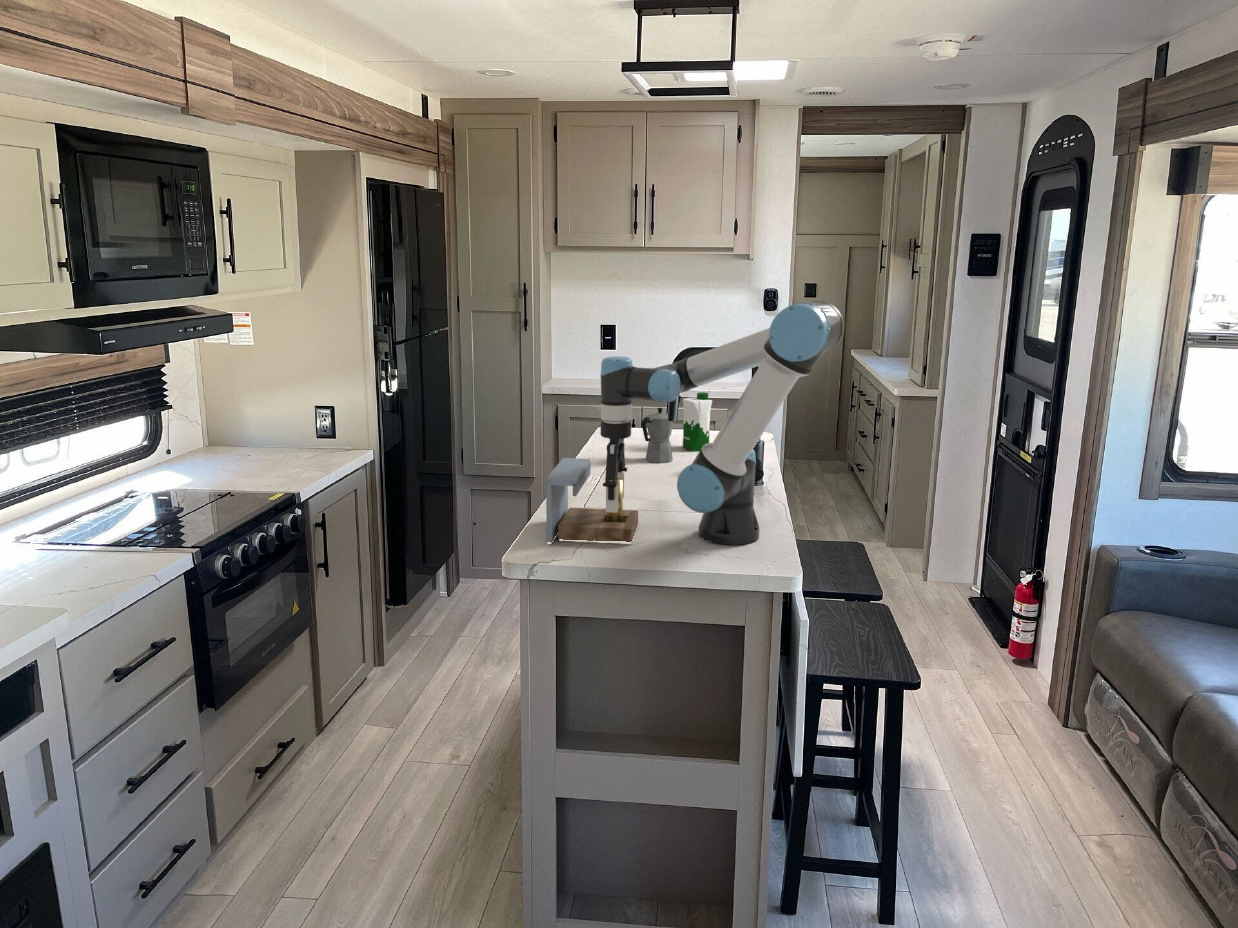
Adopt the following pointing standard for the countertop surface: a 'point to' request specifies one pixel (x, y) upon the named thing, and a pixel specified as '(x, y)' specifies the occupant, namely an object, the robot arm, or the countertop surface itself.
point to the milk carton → (696, 421)
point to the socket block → (596, 525)
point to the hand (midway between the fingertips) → (615, 504)
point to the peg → (619, 515)
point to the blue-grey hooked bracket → (563, 490)
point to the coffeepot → (658, 437)
